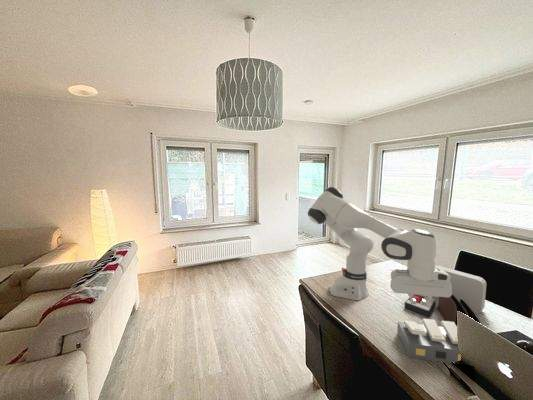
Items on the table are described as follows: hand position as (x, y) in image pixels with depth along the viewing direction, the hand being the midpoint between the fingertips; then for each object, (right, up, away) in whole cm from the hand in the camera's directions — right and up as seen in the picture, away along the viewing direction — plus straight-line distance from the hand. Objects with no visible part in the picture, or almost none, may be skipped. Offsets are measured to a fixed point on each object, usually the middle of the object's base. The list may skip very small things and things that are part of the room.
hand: (418, 304), depth 87 cm
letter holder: (+32, -18, +19) cm, 41 cm away
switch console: (+8, -21, +4) cm, 22 cm away
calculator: (+23, -17, +32) cm, 43 cm away
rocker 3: (+15, -12, +1) cm, 19 cm away
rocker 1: (+1, -12, +5) cm, 13 cm away
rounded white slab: (+42, -16, +37) cm, 58 cm away
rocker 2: (+8, -12, +3) cm, 15 cm away
